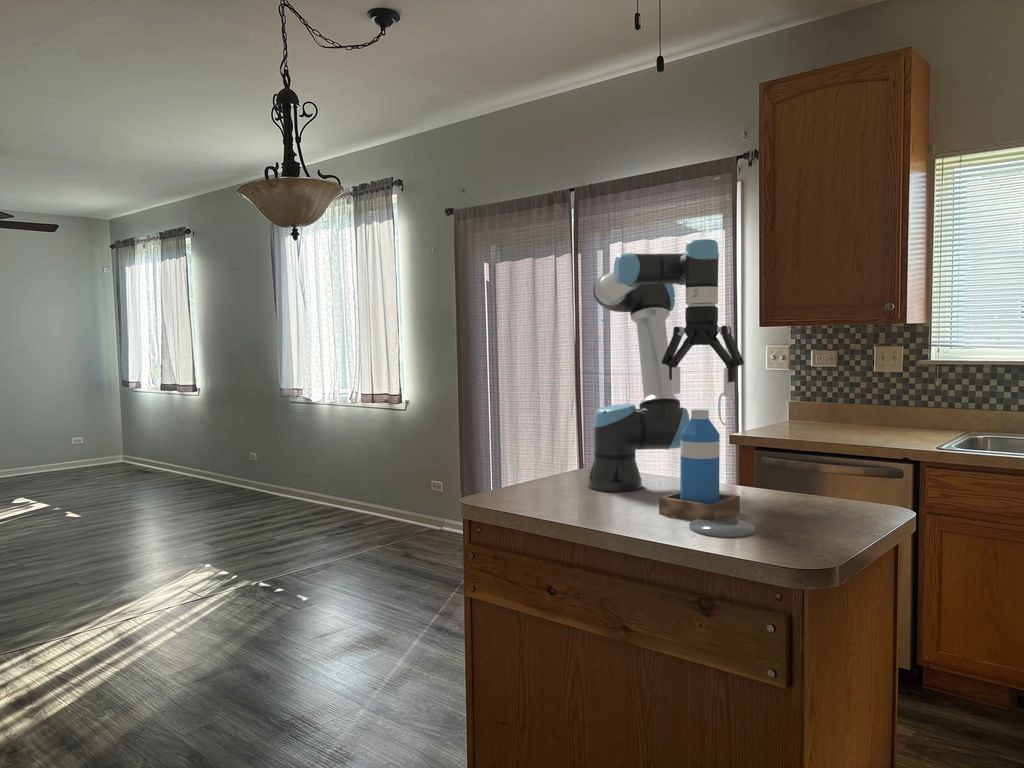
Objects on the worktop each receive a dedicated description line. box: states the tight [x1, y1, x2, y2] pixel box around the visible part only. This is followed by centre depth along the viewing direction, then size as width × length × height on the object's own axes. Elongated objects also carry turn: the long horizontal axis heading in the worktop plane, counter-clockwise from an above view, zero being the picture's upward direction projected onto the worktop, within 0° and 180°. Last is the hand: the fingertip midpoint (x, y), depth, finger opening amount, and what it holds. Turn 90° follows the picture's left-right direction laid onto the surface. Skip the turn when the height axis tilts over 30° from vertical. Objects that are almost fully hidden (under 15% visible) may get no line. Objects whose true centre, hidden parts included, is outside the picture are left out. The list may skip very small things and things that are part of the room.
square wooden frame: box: [658, 490, 741, 521], centre depth 177 cm, size 14×14×4 cm
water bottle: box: [679, 409, 721, 504], centre depth 176 cm, size 9×9×25 cm
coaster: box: [688, 517, 756, 539], centre depth 162 cm, size 14×14×1 cm
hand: (701, 395), depth 175 cm, fingers open, 13 cm apart
